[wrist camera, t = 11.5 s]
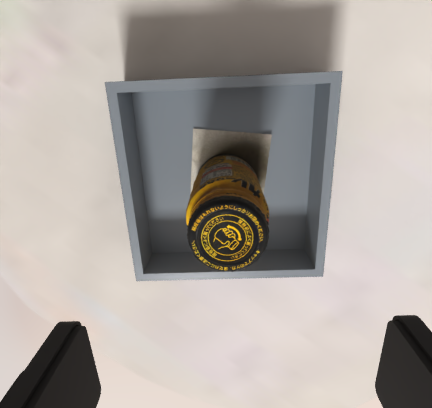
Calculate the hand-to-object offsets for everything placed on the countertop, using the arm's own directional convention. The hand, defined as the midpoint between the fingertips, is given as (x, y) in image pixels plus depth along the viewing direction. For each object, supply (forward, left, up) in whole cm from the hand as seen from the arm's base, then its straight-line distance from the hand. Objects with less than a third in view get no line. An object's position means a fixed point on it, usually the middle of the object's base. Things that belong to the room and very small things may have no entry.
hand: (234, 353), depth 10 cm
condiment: (0, 0, -22) cm, 22 cm away
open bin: (0, 0, -23) cm, 23 cm away
